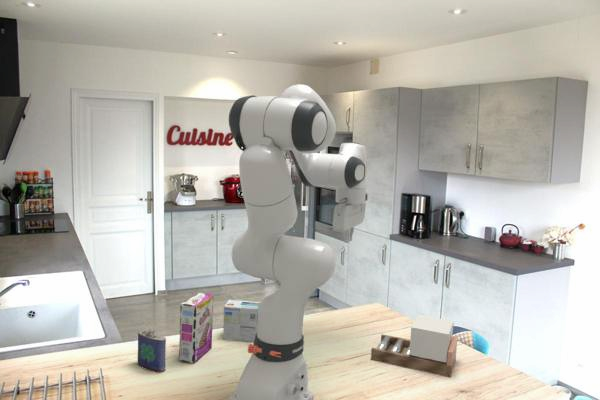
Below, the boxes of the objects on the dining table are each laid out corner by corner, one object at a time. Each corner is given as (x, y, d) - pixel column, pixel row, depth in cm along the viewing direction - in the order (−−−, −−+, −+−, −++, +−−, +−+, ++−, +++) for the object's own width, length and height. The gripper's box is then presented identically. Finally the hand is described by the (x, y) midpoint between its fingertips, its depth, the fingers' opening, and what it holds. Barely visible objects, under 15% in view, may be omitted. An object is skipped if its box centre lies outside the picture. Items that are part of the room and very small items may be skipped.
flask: (167, 369, 132) (167, 331, 130) (159, 374, 129) (159, 334, 128) (142, 361, 136) (142, 323, 135) (134, 365, 134) (133, 326, 132)
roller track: (370, 359, 143) (372, 336, 142) (381, 344, 154) (382, 322, 153) (450, 377, 134) (452, 352, 133) (455, 359, 145) (457, 336, 144)
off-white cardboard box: (409, 354, 139) (411, 327, 138) (416, 340, 149) (418, 314, 148) (446, 362, 135) (448, 334, 134) (451, 347, 145) (453, 321, 144)
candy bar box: (194, 364, 135) (195, 306, 133) (178, 361, 137) (179, 303, 135) (213, 348, 146) (214, 294, 144) (197, 345, 147) (198, 291, 145)
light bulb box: (261, 334, 158) (262, 301, 156) (257, 342, 151) (258, 308, 150) (227, 331, 159) (228, 298, 157) (222, 340, 152) (223, 305, 151)
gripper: (349, 201, 140) (346, 249, 142) (369, 194, 159) (366, 237, 160) (328, 199, 142) (326, 246, 144) (350, 192, 161) (348, 234, 163)
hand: (347, 241), depth 153 cm, fingers closed
